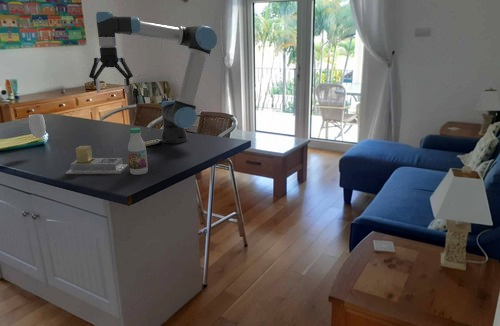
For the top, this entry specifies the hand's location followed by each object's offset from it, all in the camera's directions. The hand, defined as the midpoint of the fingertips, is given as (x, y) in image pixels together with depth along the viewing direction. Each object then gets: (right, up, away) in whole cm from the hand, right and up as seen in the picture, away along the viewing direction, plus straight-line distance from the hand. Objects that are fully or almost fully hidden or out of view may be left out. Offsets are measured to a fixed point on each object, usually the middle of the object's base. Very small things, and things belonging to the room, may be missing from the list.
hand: (113, 92), depth 194 cm
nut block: (-8, -36, -11) cm, 39 cm away
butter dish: (-3, -37, -11) cm, 39 cm away
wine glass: (-40, -30, +11) cm, 51 cm away
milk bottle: (+17, -38, -15) cm, 45 cm away
